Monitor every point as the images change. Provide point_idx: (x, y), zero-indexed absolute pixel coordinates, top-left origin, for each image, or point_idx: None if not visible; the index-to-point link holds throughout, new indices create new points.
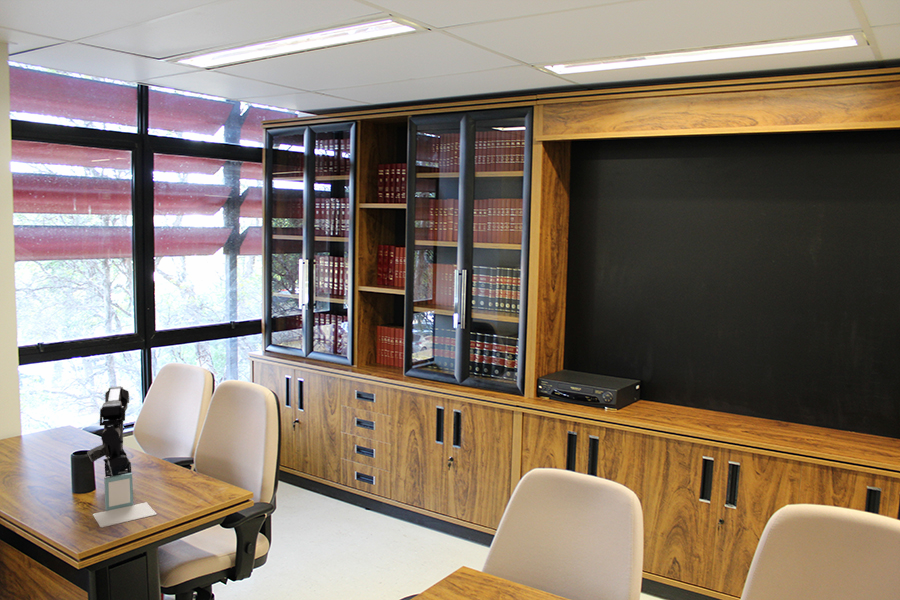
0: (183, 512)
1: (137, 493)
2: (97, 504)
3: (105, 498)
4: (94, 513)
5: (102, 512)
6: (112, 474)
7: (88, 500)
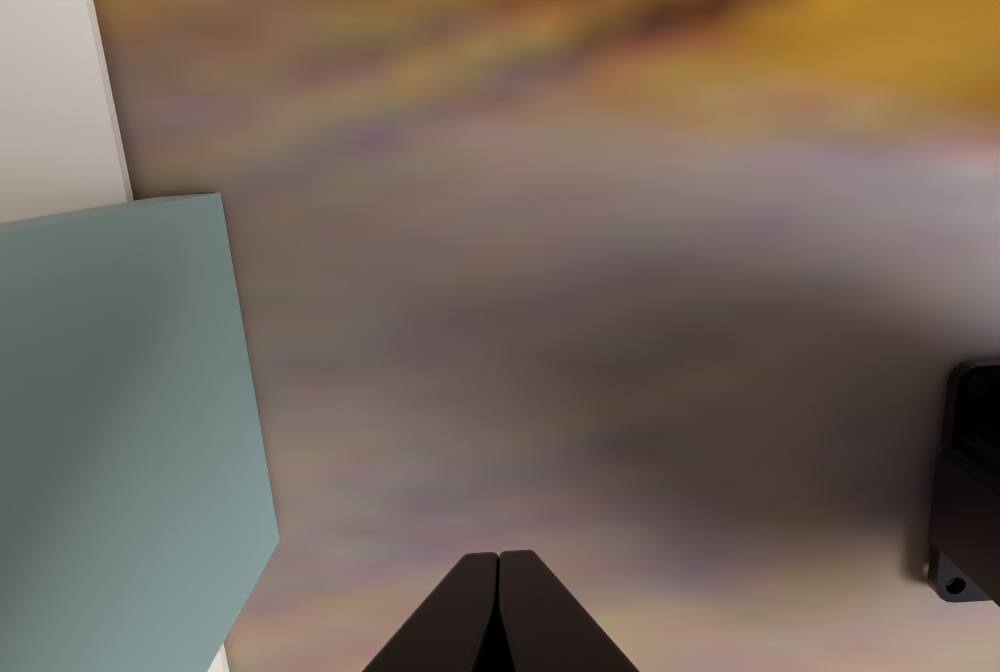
0: None
1: (701, 652)
2: (574, 116)
3: (66, 215)
4: (87, 12)
5: (77, 134)
6: (387, 642)
7: (866, 4)
